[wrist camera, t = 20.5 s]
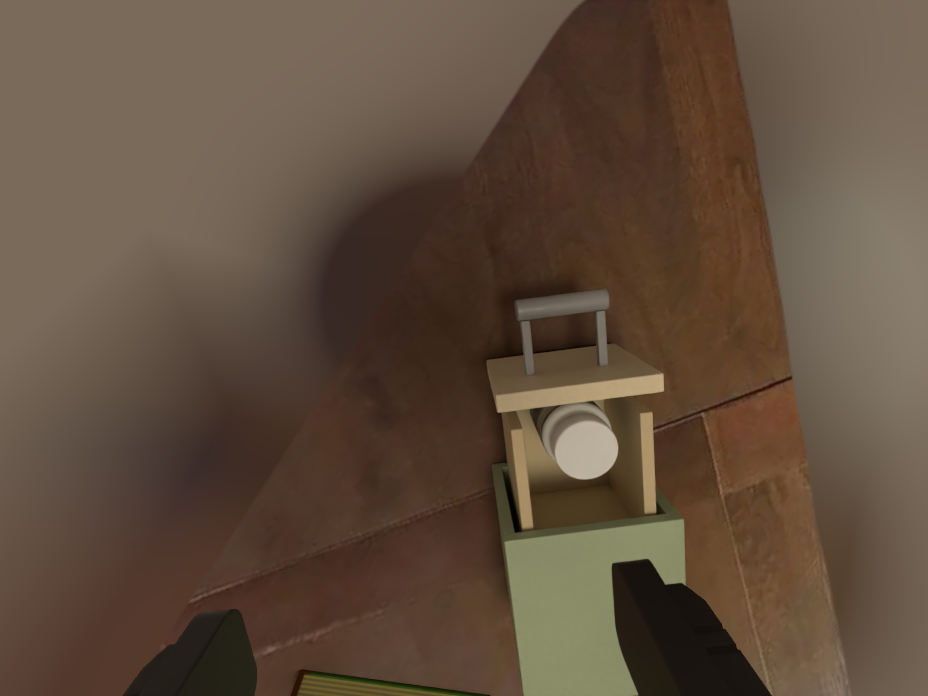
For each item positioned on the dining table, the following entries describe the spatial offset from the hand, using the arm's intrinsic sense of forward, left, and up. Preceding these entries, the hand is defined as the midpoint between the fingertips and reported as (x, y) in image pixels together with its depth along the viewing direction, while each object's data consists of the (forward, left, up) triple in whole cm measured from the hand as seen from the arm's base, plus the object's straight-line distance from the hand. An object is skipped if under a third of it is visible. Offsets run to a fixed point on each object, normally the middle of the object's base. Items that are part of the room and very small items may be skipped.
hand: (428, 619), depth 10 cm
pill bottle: (+6, +8, -26) cm, 28 cm away
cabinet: (+18, +8, -28) cm, 34 cm away
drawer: (+5, +8, -27) cm, 29 cm away
